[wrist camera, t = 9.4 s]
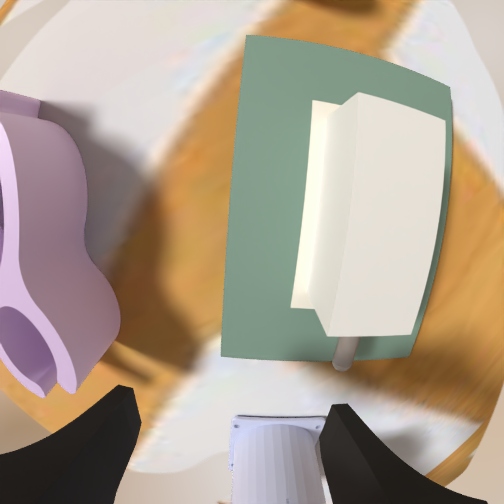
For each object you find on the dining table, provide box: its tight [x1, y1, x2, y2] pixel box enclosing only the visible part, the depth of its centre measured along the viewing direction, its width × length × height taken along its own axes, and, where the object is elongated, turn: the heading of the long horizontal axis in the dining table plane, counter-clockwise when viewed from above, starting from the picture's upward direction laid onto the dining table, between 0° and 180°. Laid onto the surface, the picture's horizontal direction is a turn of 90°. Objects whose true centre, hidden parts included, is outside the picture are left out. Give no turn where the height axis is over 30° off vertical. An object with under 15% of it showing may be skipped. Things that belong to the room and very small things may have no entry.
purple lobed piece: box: [0, 90, 121, 398], centre depth 13 cm, size 20×12×7 cm, turn 24°
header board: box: [221, 35, 452, 361], centre depth 14 cm, size 20×14×4 cm
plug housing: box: [307, 92, 446, 371], centre depth 13 cm, size 14×4×5 cm, turn 175°
